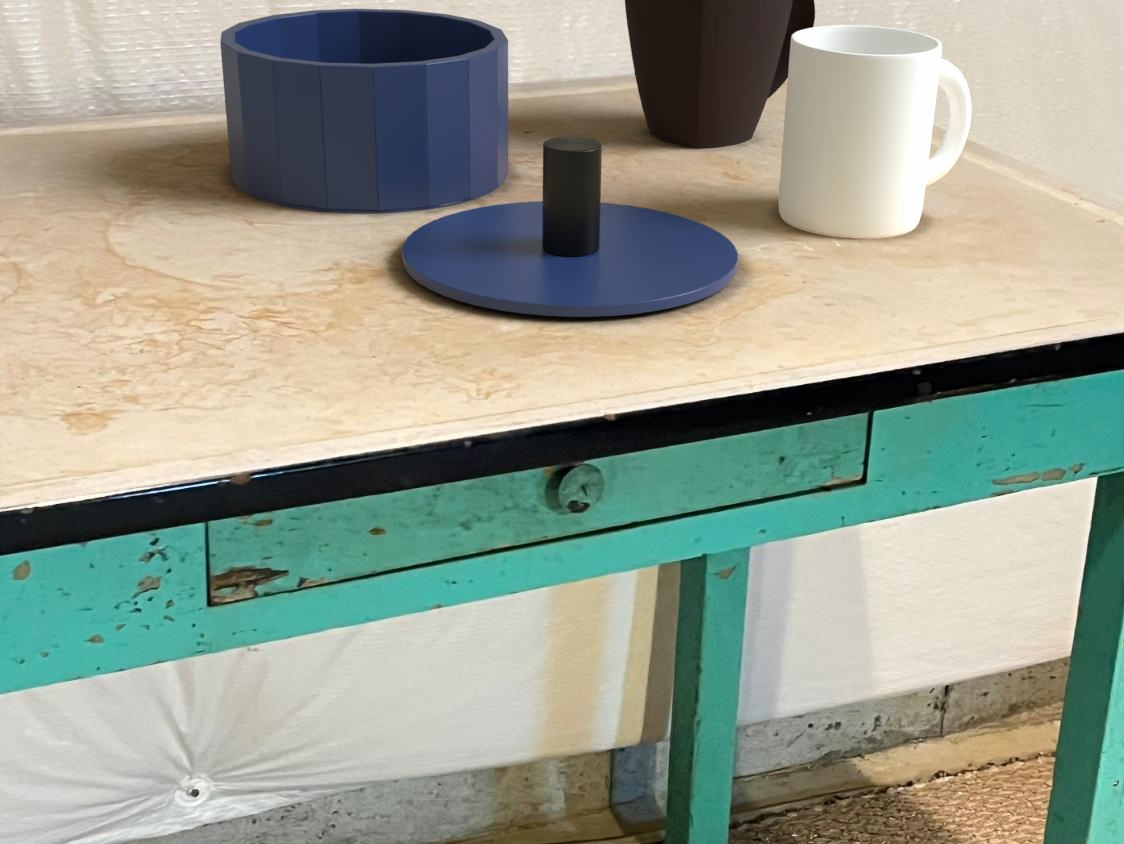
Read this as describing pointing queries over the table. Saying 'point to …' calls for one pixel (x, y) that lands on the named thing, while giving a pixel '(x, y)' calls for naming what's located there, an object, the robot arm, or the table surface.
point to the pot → (366, 109)
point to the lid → (570, 249)
